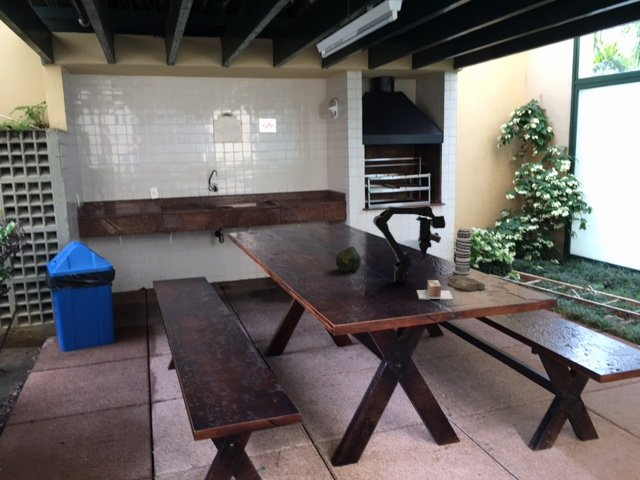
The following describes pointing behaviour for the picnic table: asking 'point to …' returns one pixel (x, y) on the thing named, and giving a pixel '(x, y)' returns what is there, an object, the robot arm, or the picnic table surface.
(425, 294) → the white board
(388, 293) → the picnic table surface
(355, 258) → the squash
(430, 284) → the birch block
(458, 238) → the decorative candle
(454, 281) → the flat brown rock
